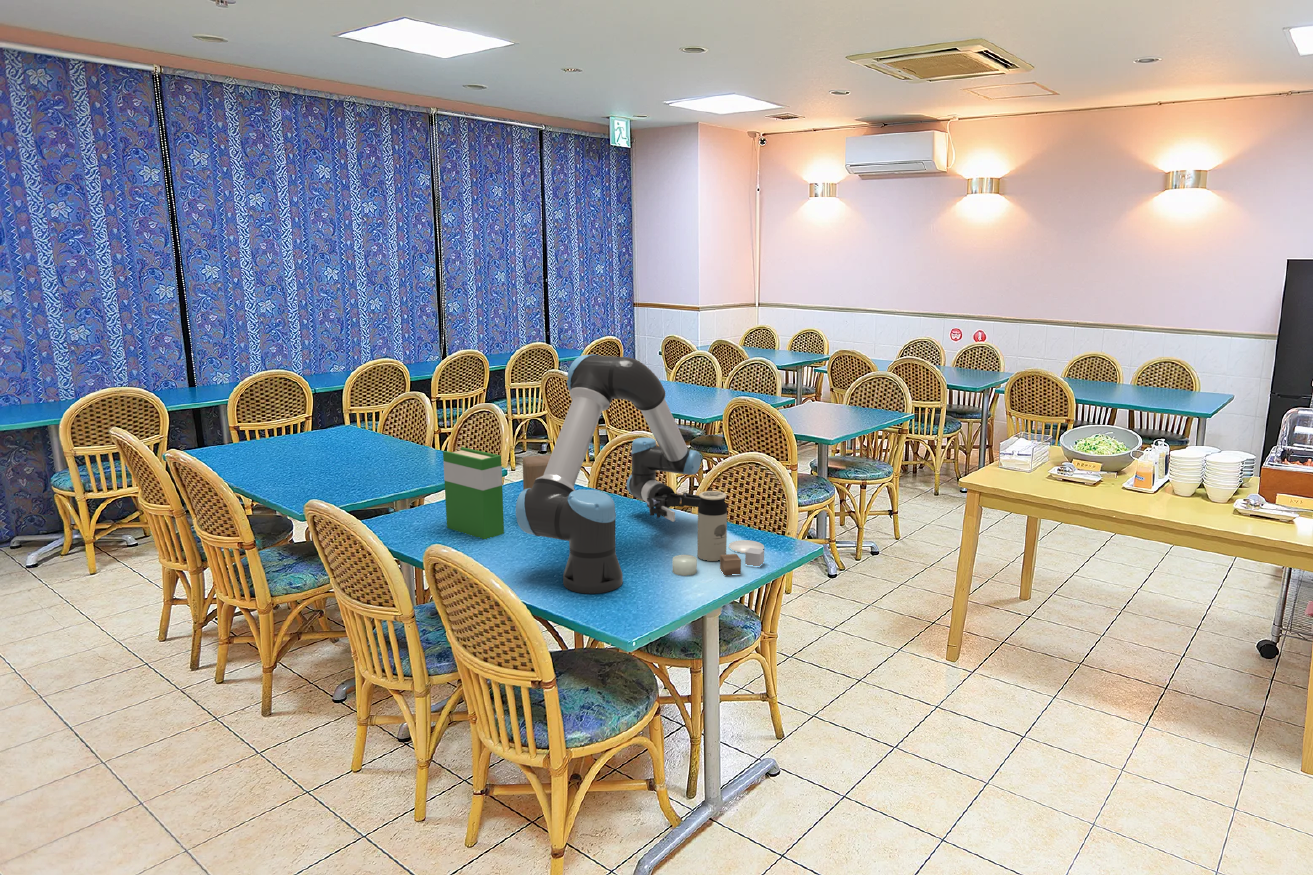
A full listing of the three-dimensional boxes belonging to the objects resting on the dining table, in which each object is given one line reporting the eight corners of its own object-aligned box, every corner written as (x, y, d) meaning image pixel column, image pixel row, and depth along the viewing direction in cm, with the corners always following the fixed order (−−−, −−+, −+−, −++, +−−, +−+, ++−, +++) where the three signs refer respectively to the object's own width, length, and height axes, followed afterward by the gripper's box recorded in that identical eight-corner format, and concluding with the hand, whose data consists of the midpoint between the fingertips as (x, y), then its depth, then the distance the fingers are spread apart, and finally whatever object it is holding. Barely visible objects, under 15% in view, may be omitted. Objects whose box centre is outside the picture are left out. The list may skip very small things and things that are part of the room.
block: (527, 526, 265) (526, 463, 260) (524, 517, 274) (522, 456, 270) (560, 524, 267) (558, 461, 263) (555, 514, 277) (553, 454, 272)
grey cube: (759, 568, 230) (759, 554, 229) (745, 566, 232) (745, 552, 231) (763, 563, 234) (764, 549, 233) (749, 561, 235) (750, 547, 235)
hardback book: (446, 527, 263) (442, 451, 258) (466, 522, 269) (462, 447, 264) (484, 539, 253) (481, 460, 248) (504, 533, 258) (501, 455, 253)
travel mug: (692, 554, 241) (693, 492, 237) (718, 550, 244) (719, 489, 240) (704, 563, 234) (705, 499, 230) (731, 559, 236) (732, 496, 233)
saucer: (763, 554, 240) (763, 552, 240) (727, 552, 242) (727, 550, 242) (764, 543, 250) (764, 541, 250) (730, 541, 251) (730, 539, 251)
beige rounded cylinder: (695, 576, 224) (695, 563, 224) (670, 575, 225) (670, 562, 225) (698, 568, 231) (698, 555, 230) (674, 566, 232) (674, 554, 231)
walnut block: (740, 575, 225) (741, 559, 224) (724, 576, 225) (724, 560, 224) (736, 569, 230) (736, 553, 229) (720, 570, 229) (720, 554, 228)
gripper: (693, 501, 269) (731, 519, 251) (622, 512, 258) (656, 532, 240) (693, 478, 268) (731, 494, 250) (621, 488, 256) (656, 506, 238)
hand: (694, 513), depth 245 cm, fingers open, 13 cm apart
